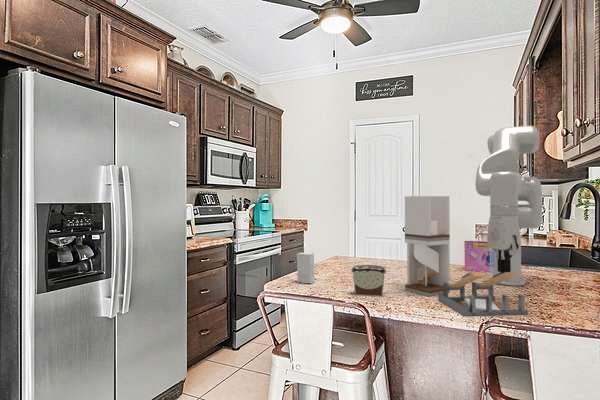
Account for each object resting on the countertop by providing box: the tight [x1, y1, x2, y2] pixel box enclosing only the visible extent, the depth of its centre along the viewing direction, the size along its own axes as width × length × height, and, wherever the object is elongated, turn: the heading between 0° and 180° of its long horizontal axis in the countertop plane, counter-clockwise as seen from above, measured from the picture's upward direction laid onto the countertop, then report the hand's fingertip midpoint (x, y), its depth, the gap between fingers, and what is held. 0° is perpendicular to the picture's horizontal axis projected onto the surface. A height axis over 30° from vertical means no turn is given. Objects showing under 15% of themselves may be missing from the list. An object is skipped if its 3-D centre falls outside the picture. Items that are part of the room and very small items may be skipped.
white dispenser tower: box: [404, 195, 451, 298], centre depth 142 cm, size 11×11×35 cm
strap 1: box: [448, 272, 485, 291], centre depth 123 cm, size 18×4×2 cm, turn 4°
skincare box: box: [296, 252, 316, 285], centre depth 158 cm, size 6×4×12 cm
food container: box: [350, 264, 387, 297], centre depth 140 cm, size 12×6×10 cm, turn 78°
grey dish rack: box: [437, 281, 529, 317], centre depth 122 cm, size 18×19×6 cm
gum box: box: [463, 240, 494, 273], centre depth 182 cm, size 24×8×14 cm, turn 67°
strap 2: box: [476, 272, 516, 291], centre depth 124 cm, size 18×4×2 cm, turn 4°
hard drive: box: [463, 298, 501, 311], centre depth 122 cm, size 2×8×12 cm
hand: (504, 271), depth 119 cm, fingers closed
